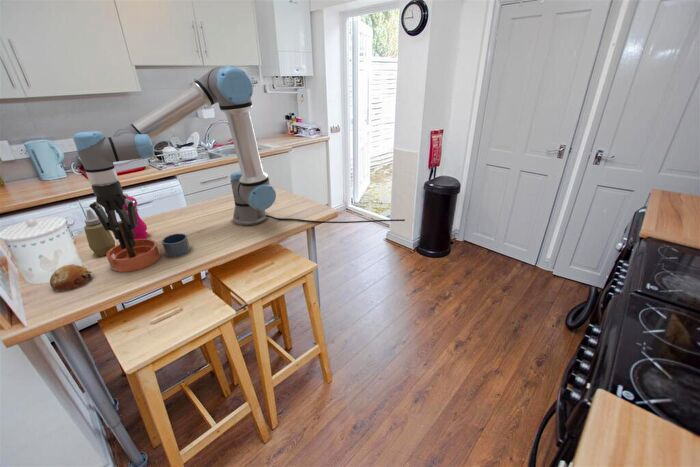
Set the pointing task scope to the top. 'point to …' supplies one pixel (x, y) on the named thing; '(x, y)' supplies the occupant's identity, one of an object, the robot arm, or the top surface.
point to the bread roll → (69, 277)
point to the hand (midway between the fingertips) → (128, 246)
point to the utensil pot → (176, 245)
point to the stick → (122, 229)
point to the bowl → (126, 264)
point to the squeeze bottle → (97, 235)
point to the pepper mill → (141, 228)
